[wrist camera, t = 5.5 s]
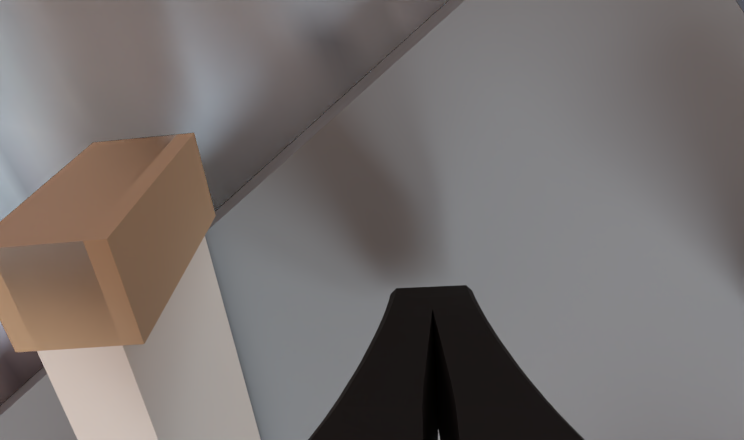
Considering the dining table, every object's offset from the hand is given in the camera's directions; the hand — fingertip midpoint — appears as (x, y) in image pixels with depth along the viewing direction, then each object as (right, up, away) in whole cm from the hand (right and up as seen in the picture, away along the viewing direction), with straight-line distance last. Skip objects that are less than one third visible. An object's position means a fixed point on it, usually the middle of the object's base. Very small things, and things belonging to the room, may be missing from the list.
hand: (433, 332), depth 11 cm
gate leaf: (-4, -2, +2) cm, 5 cm away
